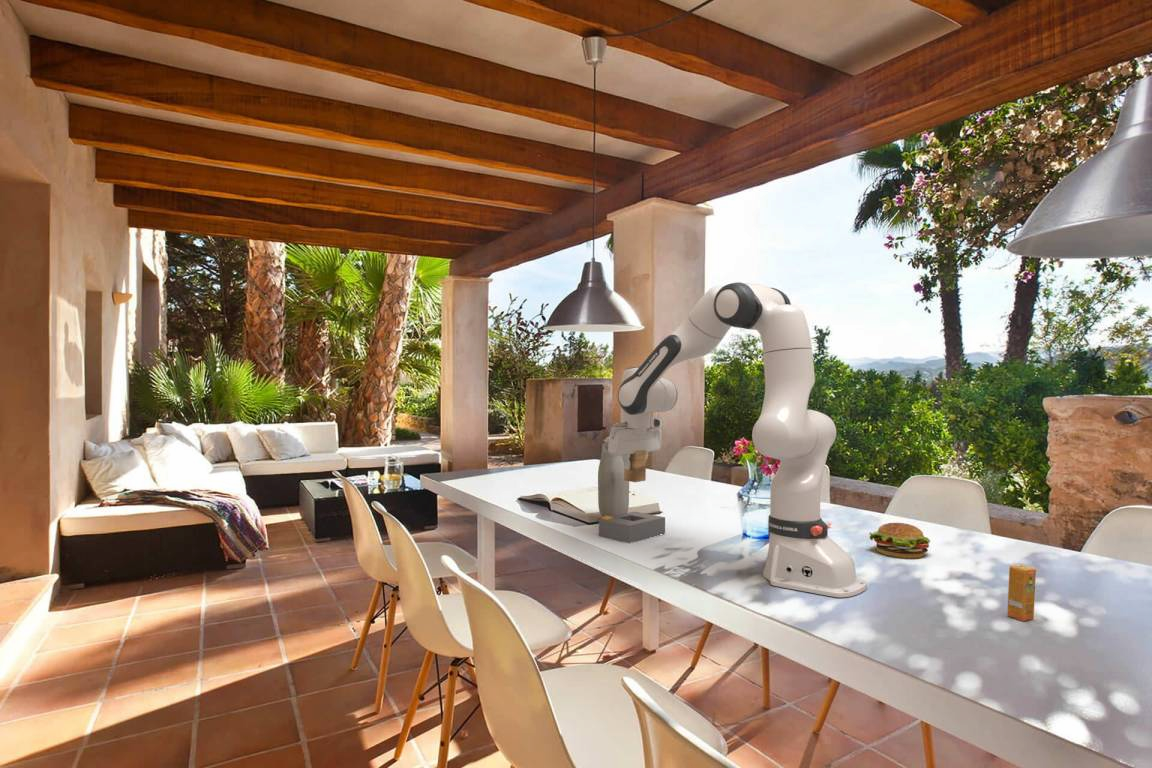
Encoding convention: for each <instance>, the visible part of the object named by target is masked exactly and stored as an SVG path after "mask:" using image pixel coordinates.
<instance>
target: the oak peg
mask: <svg viewBox="0 0 1152 768" xmlns="http://www.w3.org/2000/svg"><path fill="white" fill-rule="evenodd" d="M629 460H630V463H632V469H629V470H627V469H625V468H624V480H625V481H629V483H630V482H631V483H640V482H645V481H647V480H646V479H647V478H646V477H647V474H646V473H647V472H646V471H647V470H646V469H647V468H646V467H647V466H646V465H647V460H646V450H643V451H635V453H634V454H630V458H629ZM624 467H625V463H624Z"/></svg>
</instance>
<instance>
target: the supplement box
mask: <svg viewBox="0 0 1152 768" xmlns="http://www.w3.org/2000/svg"><path fill="white" fill-rule="evenodd" d="M1008 569H1009V571H1008V572H1009V573H1008V574H1009V575H1008V591H1007V592H1008V593H1007V616H1008V617H1010V618H1012V619H1015V620H1018V621H1021V622H1026V621H1031V620H1034V619H1035V618H1034V616H1035V613H1034V612H1035V596H1036V595H1035V593H1036V580H1037V579H1036V575H1037V569H1036V568H1034V567H1031V566H1028V565H1025V564H1021V563H1019V564H1015V565H1010V566H1009V568H1008Z"/></svg>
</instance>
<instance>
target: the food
mask: <svg viewBox="0 0 1152 768" xmlns="http://www.w3.org/2000/svg"><path fill="white" fill-rule="evenodd" d="M869 539H870V540H871V541H874V542H875V543H876V544H875V545H876V546H875V547H876V548H875V549H876V551H877V553H880V554H881V555H884V556H887V555H888V556H887V557H892V558H900V559H918V558H923V557H924V556H925V555H926V552H928V549H929V547H930V543H931V540H930V538H928V537H926V536H925V535H924V533H923V531H922V530H921V529H920V528H919V527H917V526H916V525H913V524H909V523H904V522H888V523H884V524H882V525H880V526H879V527H878V530H876V531H874V532H873V533H871V531H870V532H869Z"/></svg>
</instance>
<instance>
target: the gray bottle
mask: <svg viewBox="0 0 1152 768" xmlns="http://www.w3.org/2000/svg"><path fill="white" fill-rule="evenodd" d="M609 436H610V435H608V436H606V437H605V438H604V439H603V441H602V445H601V455H600V460H599V465H598V471H597V492H598V493H597V502H598V504H597V505H598V510H599V514H600V516H601V518H602V517H605V516H610V517H611V516H615V515H620V514H625V513H629V506H630V504H629V503H630V481H625V480H624V462H623V459H622V455H619V456H616V455H610V454H609V452H608V444H609Z"/></svg>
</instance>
